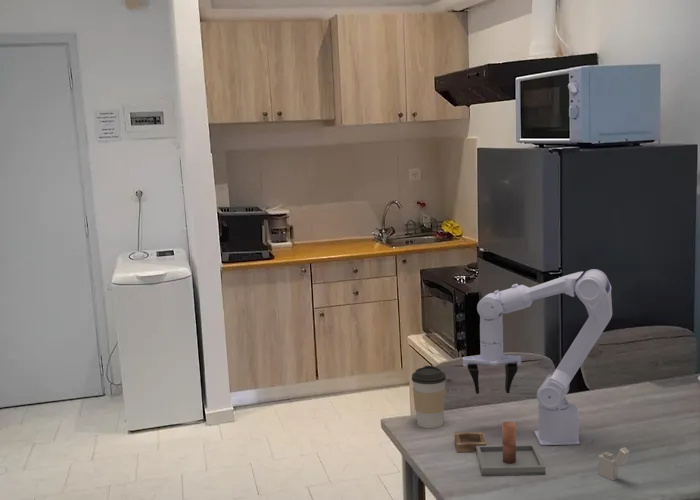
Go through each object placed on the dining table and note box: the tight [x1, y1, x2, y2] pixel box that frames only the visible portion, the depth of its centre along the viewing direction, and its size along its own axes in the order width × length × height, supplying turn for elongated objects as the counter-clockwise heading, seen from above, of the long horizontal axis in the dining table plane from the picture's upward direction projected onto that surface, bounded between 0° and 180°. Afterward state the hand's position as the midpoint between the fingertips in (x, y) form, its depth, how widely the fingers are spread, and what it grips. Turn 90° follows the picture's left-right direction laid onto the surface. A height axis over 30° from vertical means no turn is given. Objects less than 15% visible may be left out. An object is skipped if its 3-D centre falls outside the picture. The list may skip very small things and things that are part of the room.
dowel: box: [501, 421, 517, 464], centre depth 170 cm, size 3×3×9 cm
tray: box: [475, 444, 546, 477], centre depth 170 cm, size 14×12×2 cm
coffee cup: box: [411, 365, 447, 429], centre depth 195 cm, size 9×9×15 cm
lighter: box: [597, 446, 631, 481], centre depth 160 cm, size 7×2×8 cm, turn 32°
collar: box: [453, 431, 487, 453], centre depth 181 cm, size 7×7×2 cm
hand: (492, 392), depth 188 cm, fingers open, 7 cm apart
